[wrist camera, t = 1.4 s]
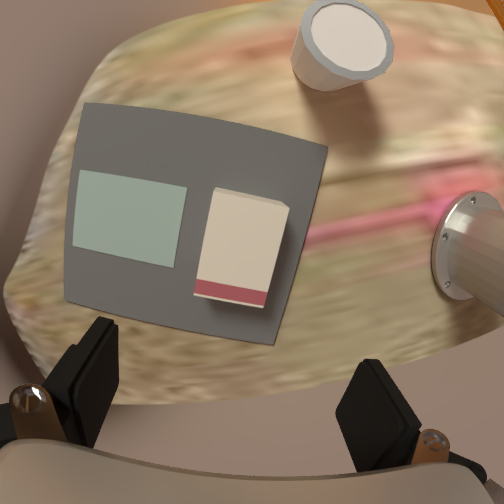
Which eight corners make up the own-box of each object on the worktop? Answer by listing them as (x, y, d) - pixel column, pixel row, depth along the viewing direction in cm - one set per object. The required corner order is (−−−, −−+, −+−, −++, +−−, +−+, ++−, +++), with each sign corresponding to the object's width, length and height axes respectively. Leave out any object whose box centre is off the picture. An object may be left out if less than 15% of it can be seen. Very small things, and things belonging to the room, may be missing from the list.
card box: (215, 187, 24) (213, 191, 21) (281, 201, 25) (289, 207, 22) (197, 278, 27) (193, 295, 23) (259, 289, 27) (263, 308, 24)
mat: (326, 147, 24) (328, 146, 24) (272, 342, 29) (273, 345, 29) (86, 103, 22) (84, 102, 21) (65, 298, 27) (63, 300, 26)
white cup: (319, 18, 21) (345, -18, 14) (372, 71, 23) (411, 50, 16) (266, 57, 22) (278, 24, 15) (322, 113, 24) (354, 99, 17)
